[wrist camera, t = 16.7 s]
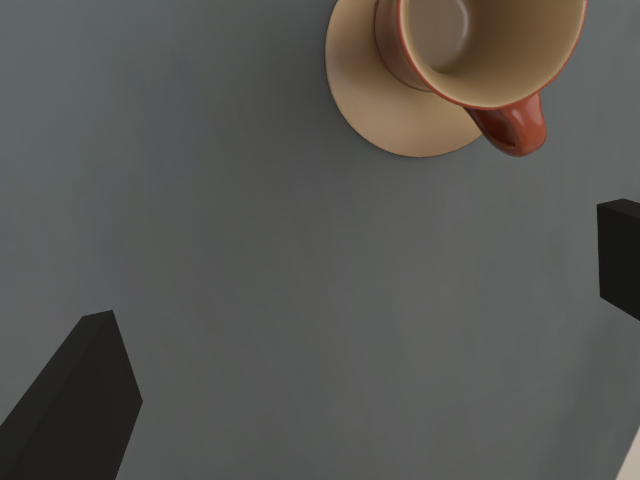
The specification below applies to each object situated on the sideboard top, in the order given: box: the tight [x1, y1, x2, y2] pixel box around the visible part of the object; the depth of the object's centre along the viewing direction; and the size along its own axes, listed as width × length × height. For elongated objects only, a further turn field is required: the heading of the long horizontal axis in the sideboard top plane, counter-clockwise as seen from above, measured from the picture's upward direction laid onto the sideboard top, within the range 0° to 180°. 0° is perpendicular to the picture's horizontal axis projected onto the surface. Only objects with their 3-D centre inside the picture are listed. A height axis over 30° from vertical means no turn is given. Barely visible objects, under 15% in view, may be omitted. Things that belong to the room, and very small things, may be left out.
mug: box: [372, 0, 587, 157], centre depth 29 cm, size 12×9×10 cm
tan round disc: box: [325, 0, 482, 157], centre depth 34 cm, size 13×13×1 cm
